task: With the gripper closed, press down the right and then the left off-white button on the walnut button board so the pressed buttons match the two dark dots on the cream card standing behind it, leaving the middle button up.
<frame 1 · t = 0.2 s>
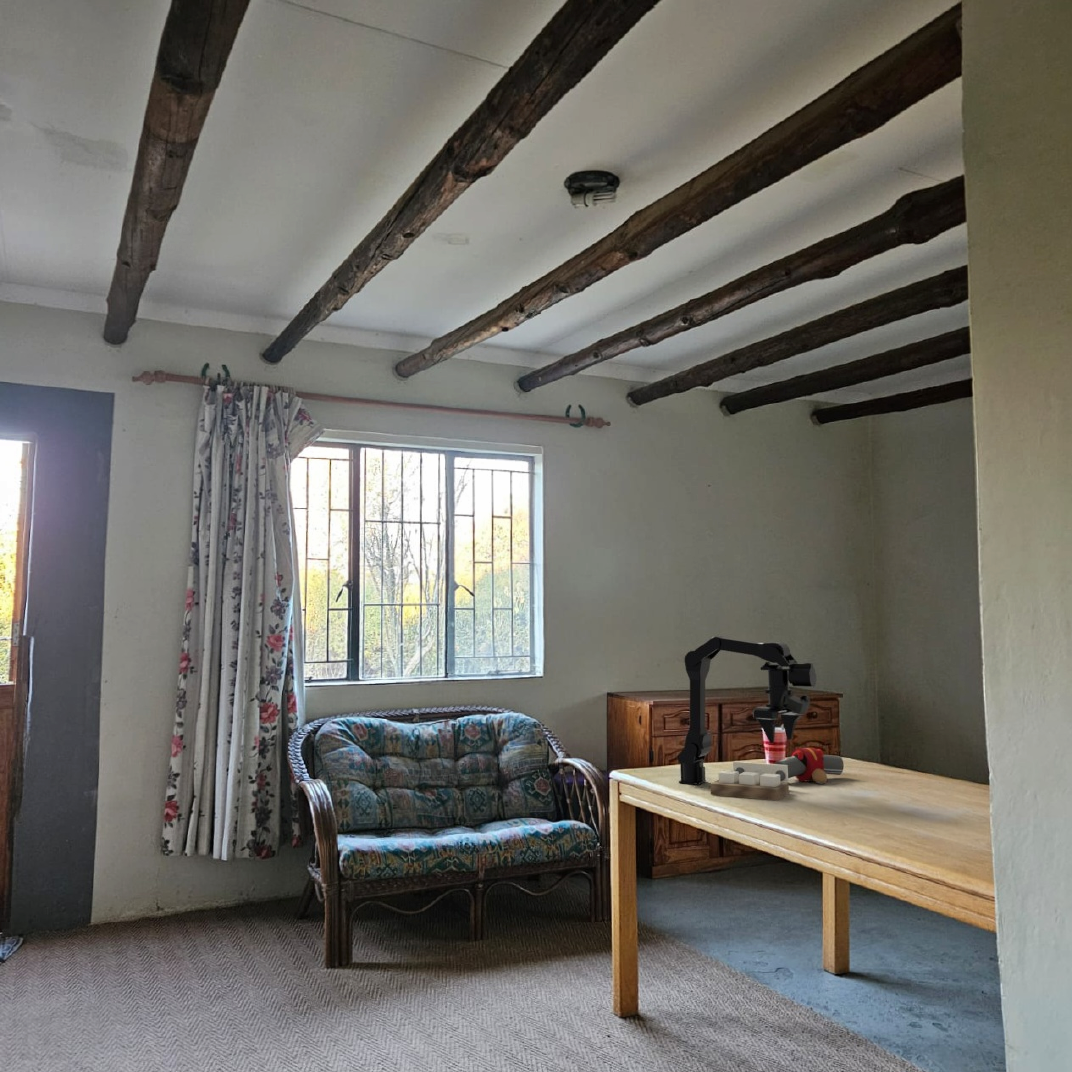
hand: (780, 741, 262), 14 cm above the table, fingers open, 9 cm apart
button right: (770, 782, 255), point 4 cm above the table, slide at 0.0 cm
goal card: (760, 787, 267), on the table
toy: (808, 781, 277), on the table
button mid: (749, 780, 258), point 4 cm above the table, slide at 0.0 cm
board: (749, 793, 258), on the table
button left: (728, 779, 262), point 4 cm above the table, slide at 0.0 cm
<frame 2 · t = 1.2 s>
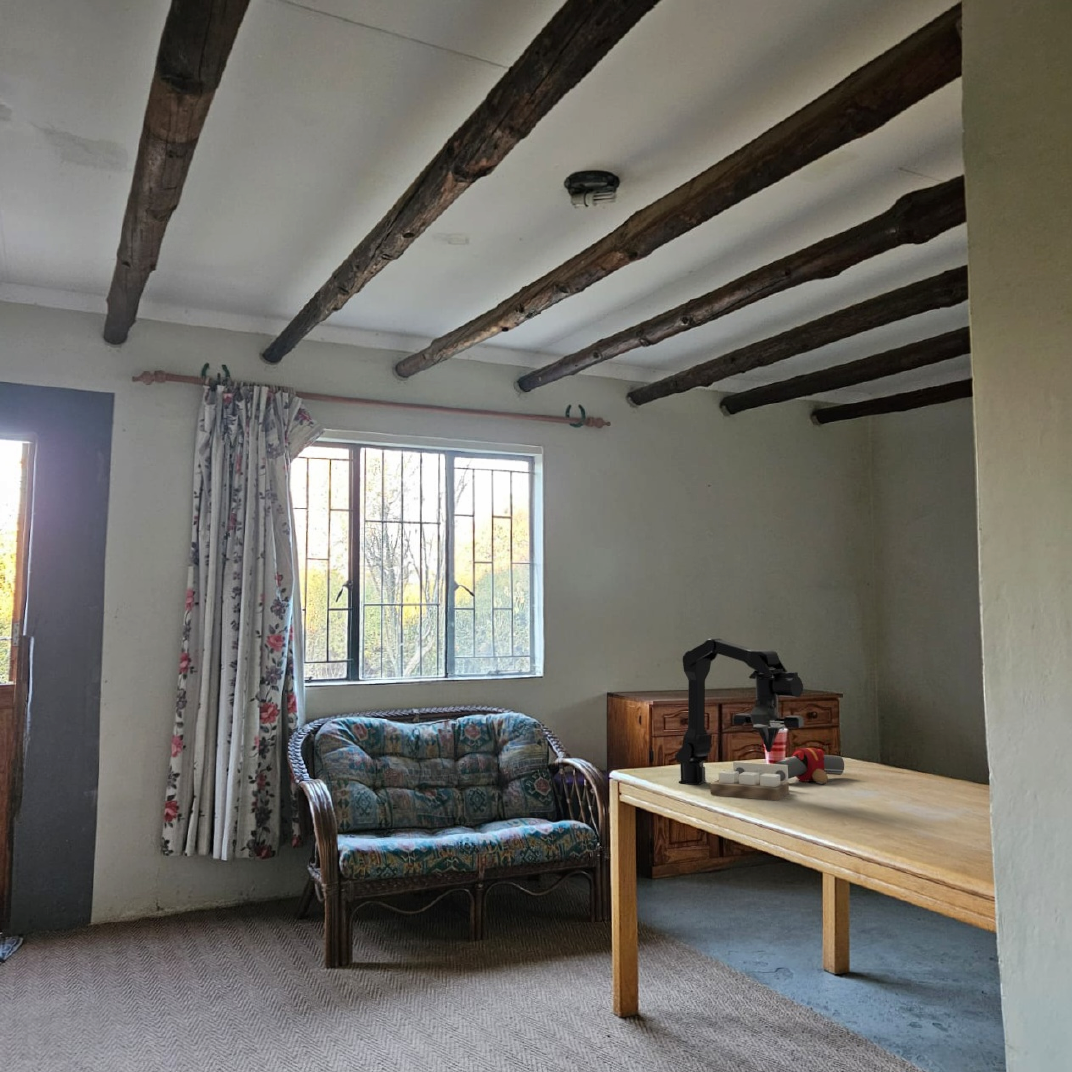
hand: (769, 751, 256), 12 cm above the table, fingers closed
nothing on the table moved.
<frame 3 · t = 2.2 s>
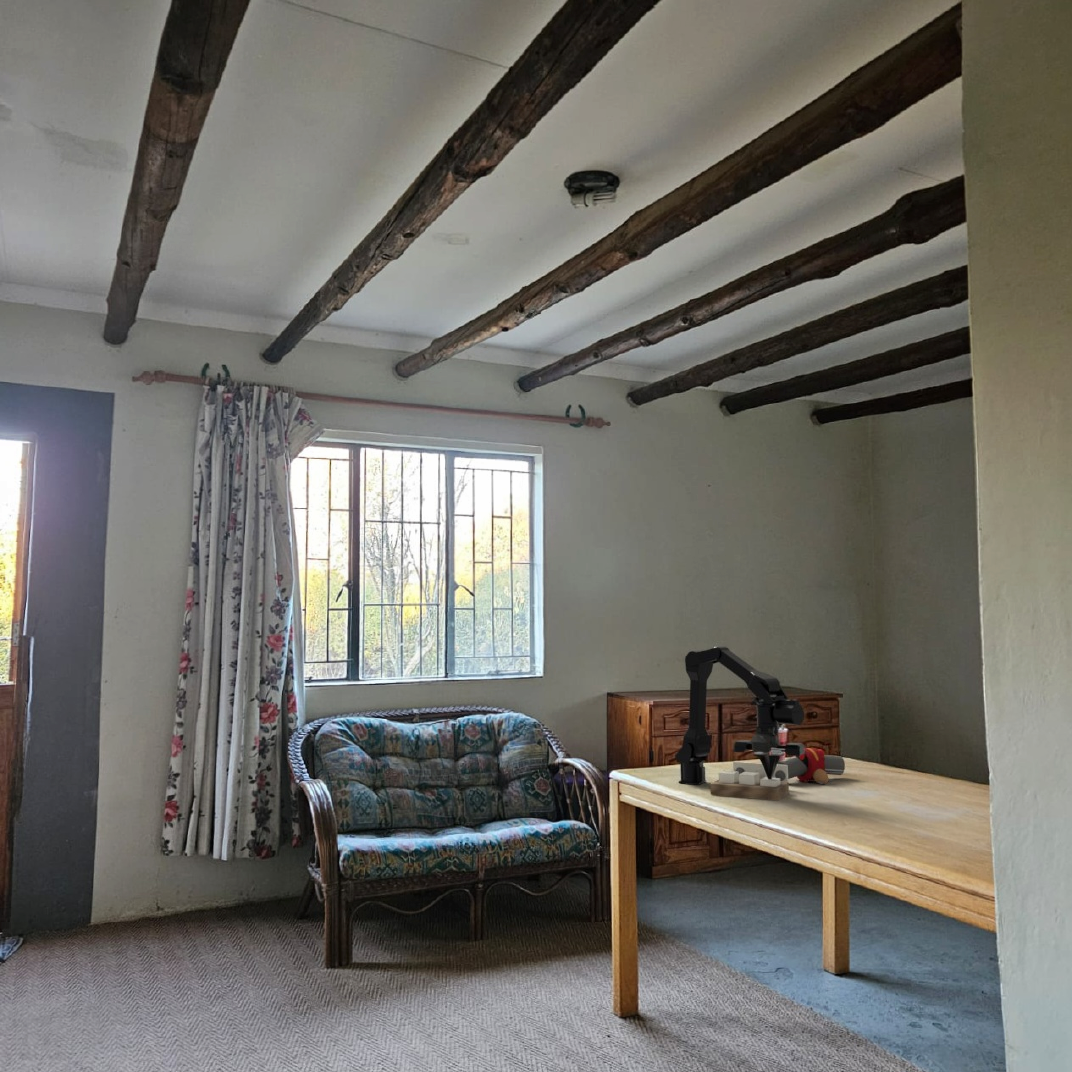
hand: (770, 779, 255), 5 cm above the table, fingers closed, pressing on button right
button right: (770, 786, 255), point 3 cm above the table, slide at 1.0 cm, touching gripper
everything else where it was.
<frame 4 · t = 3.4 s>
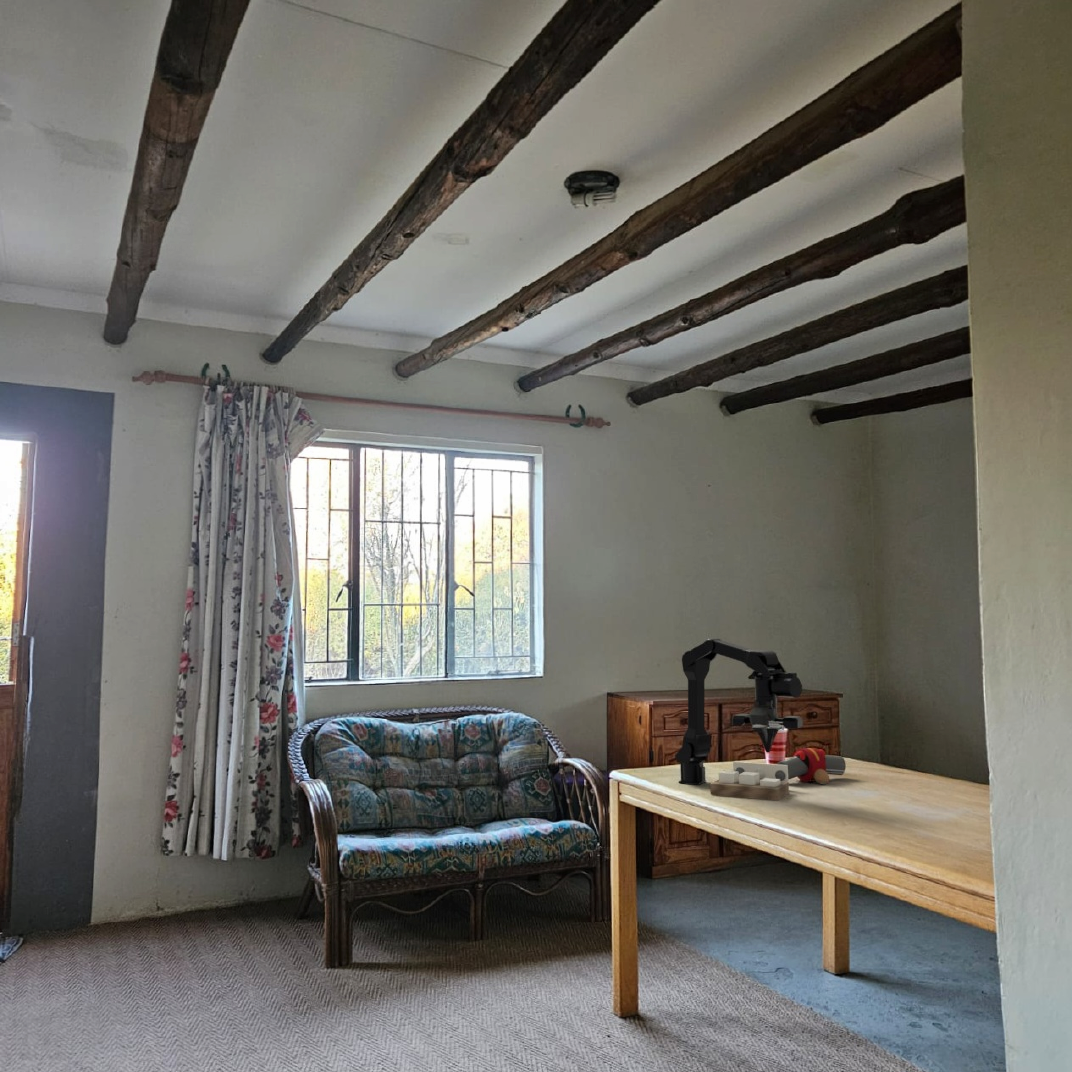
hand: (768, 752, 256), 12 cm above the table, fingers closed
button right: (770, 787, 255), point 2 cm above the table, slide at 1.3 cm
everything else where it was.
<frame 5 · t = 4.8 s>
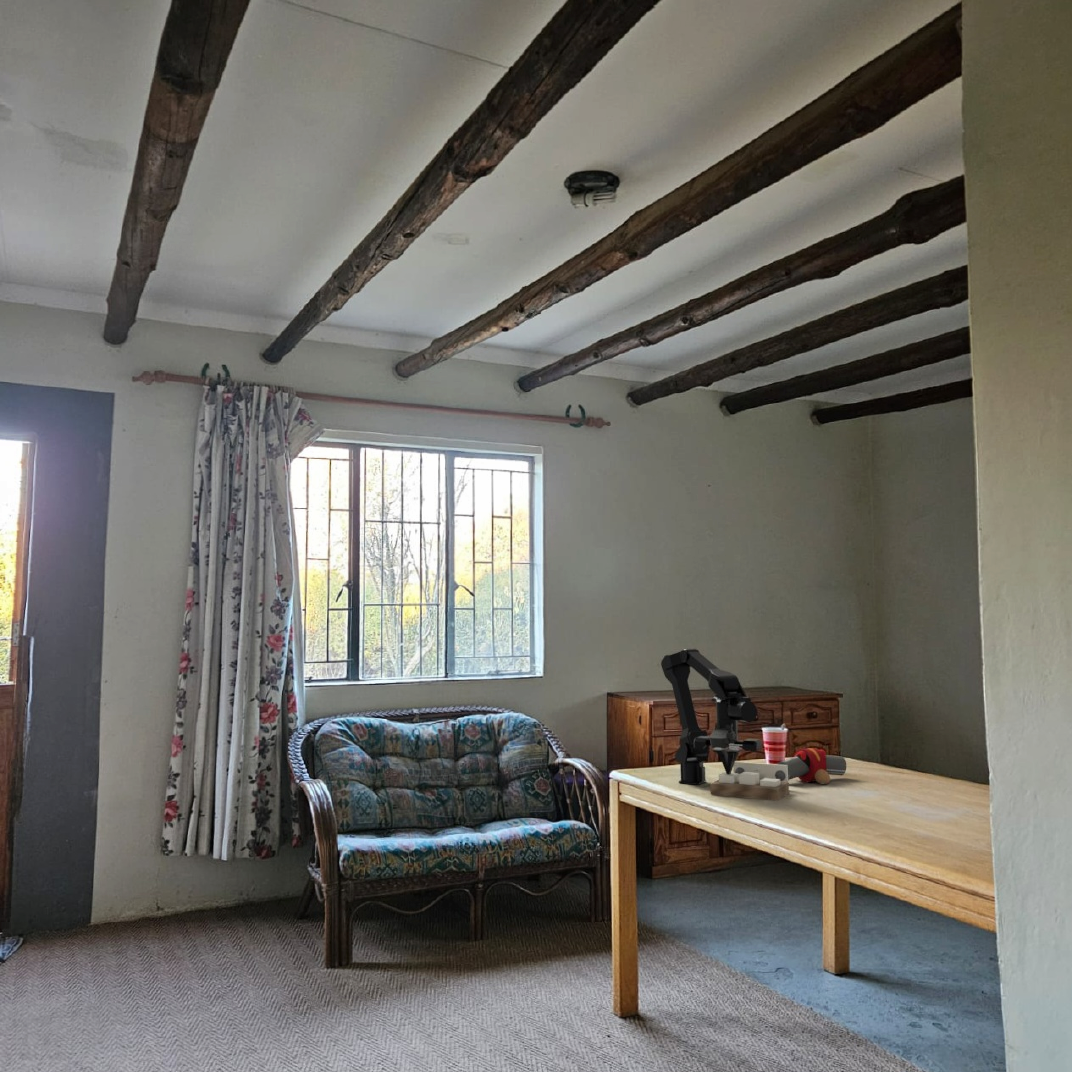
hand: (728, 774, 262), 5 cm above the table, fingers closed, pressing on button left
button left: (728, 781, 261), point 3 cm above the table, slide at 0.6 cm, touching gripper
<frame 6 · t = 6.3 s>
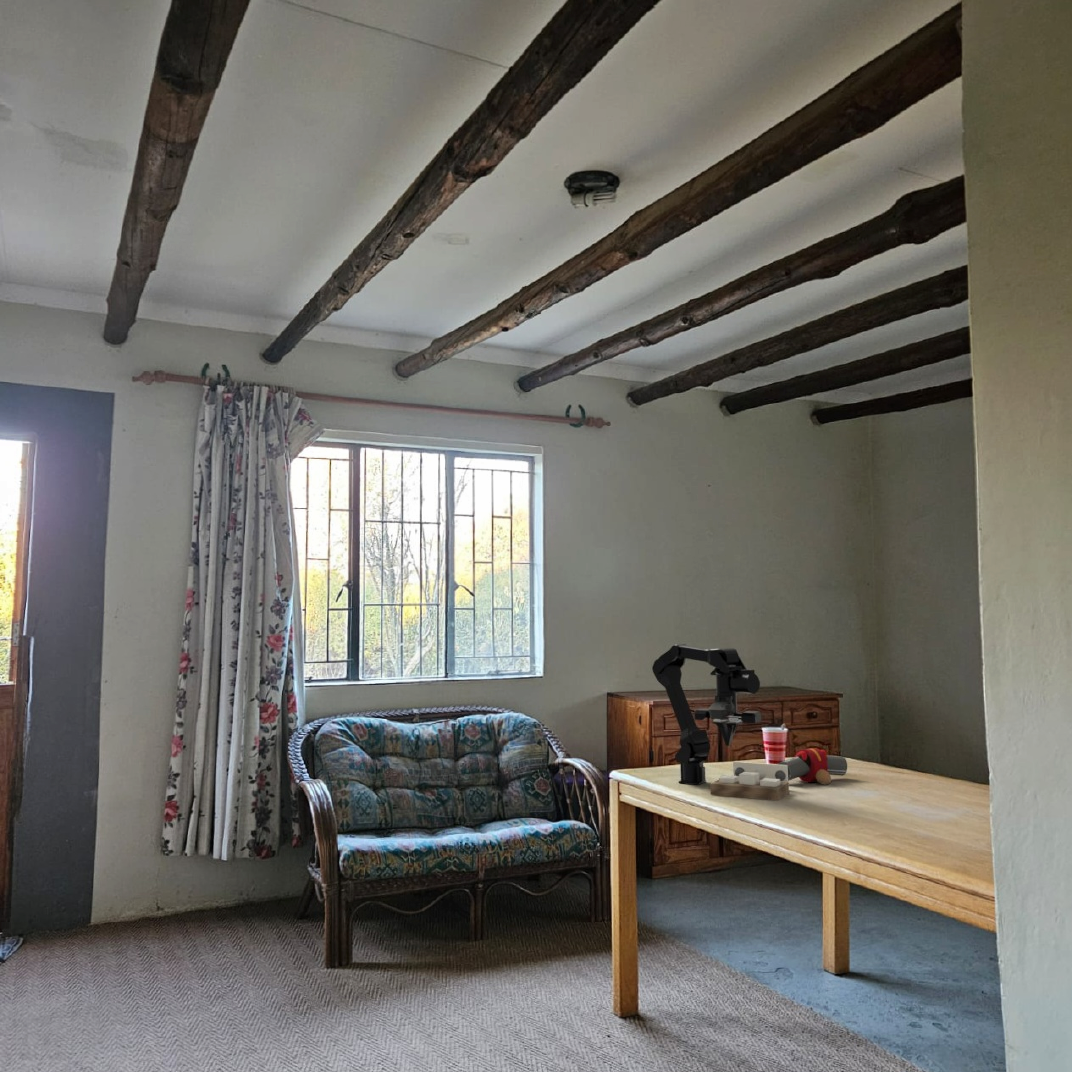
hand: (727, 745, 266), 12 cm above the table, fingers closed
button left: (729, 784, 261), point 2 cm above the table, slide at 1.3 cm
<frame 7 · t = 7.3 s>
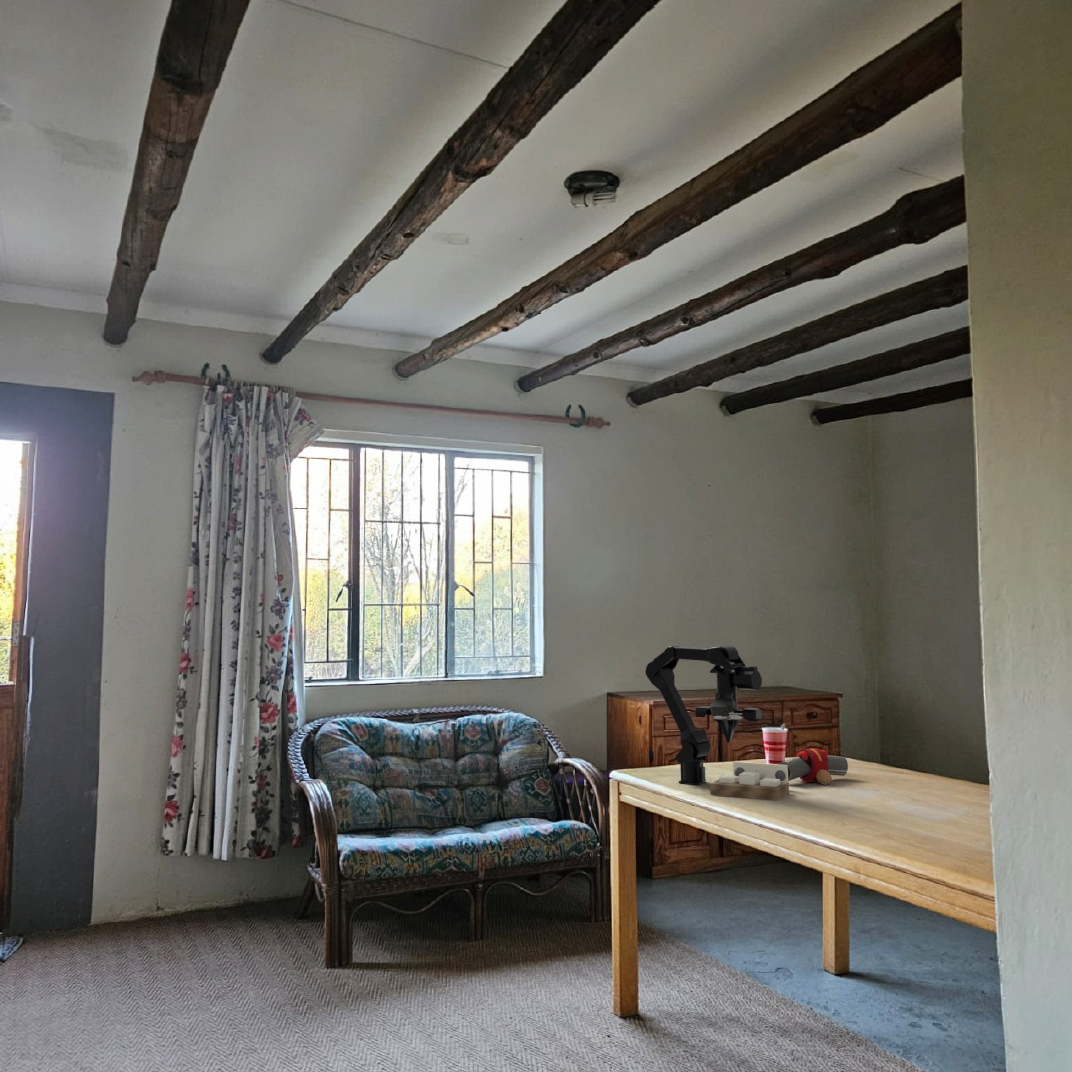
hand: (728, 742, 269), 13 cm above the table, fingers closed
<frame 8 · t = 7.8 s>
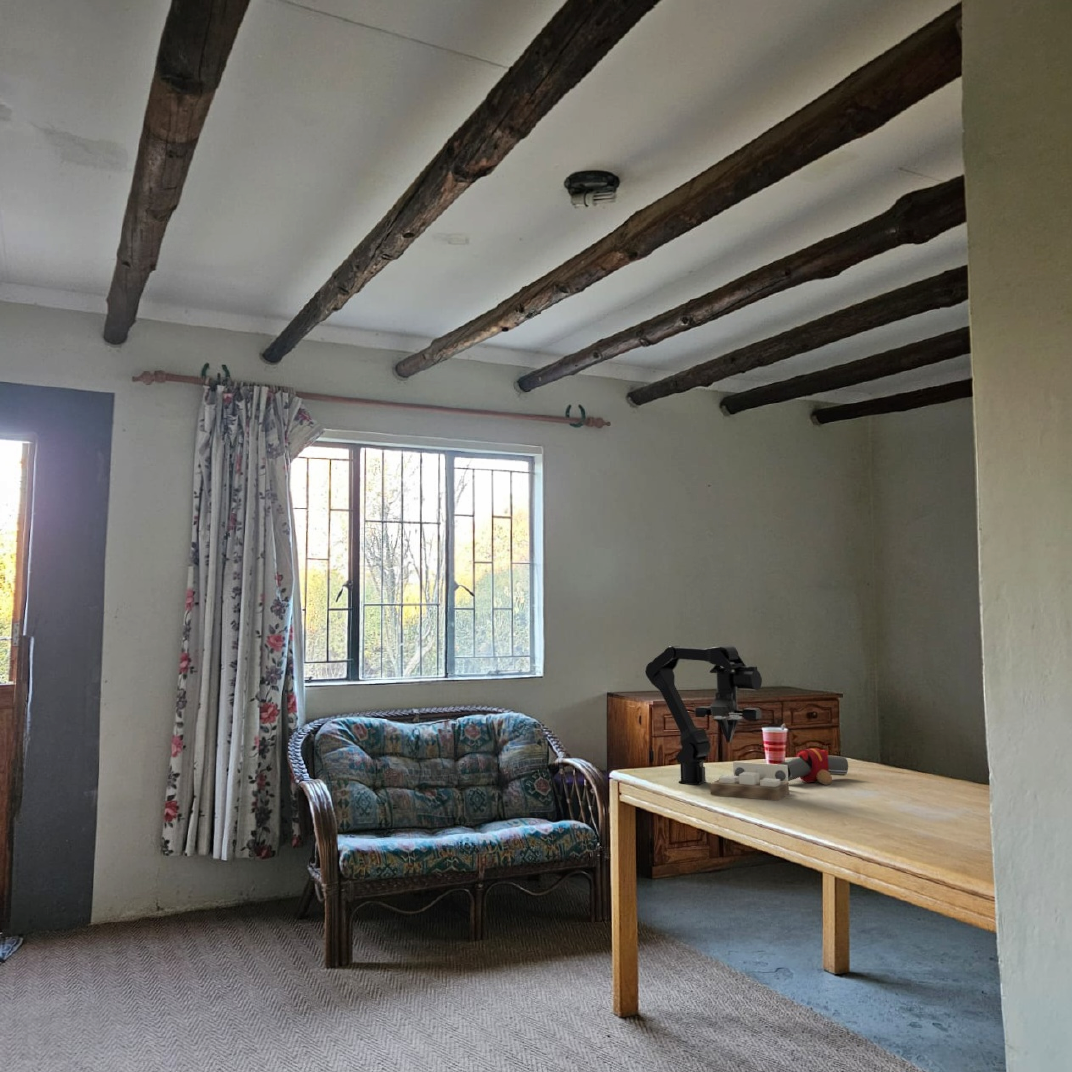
hand: (728, 742, 269), 13 cm above the table, fingers closed
at the end: button right slide at 1.3 cm; button left slide at 1.3 cm; button mid slide at 0.0 cm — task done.
